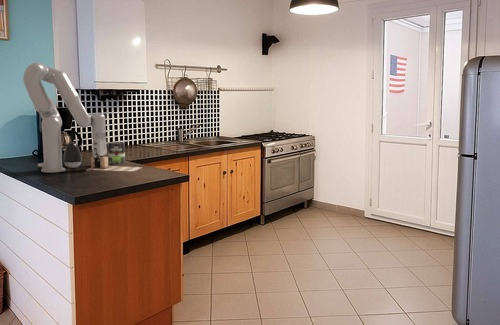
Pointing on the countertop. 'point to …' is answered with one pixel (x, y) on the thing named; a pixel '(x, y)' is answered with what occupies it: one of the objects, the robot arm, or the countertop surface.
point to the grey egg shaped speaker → (72, 155)
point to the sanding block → (102, 162)
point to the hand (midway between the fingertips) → (99, 166)
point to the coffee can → (116, 153)
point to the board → (116, 168)
